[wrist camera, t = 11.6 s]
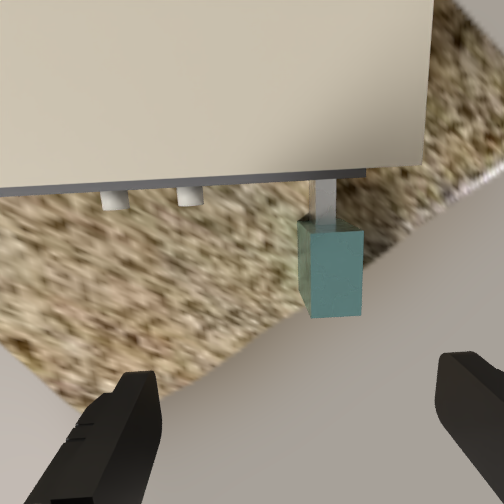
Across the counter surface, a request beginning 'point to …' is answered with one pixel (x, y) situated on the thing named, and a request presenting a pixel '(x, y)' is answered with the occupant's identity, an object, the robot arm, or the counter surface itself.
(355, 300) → the tool
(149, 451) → the robot arm
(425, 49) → the cabinet
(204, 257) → the counter surface
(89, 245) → the counter surface
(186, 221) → the counter surface
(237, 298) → the counter surface
